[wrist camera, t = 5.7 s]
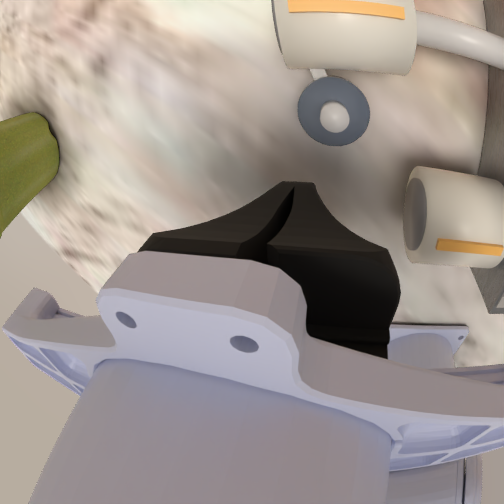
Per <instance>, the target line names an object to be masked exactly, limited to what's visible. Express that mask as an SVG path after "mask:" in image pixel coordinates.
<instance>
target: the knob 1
mask: <svg viewBox="0 0 504 504" xmlns="http://www.w3.org/2000/svg"><path fill="white" fill-rule="evenodd" d="M271 2H272V12H273V20H274V26H275V31H276V36H277V41H278V44H279V48H280V51H281V53H282V55H283V57H284V60H285V63H286V66H287V67H288V69H339V70H355V71H367V72H377V73H386V74H393V75H400V76H405V75H407V74H408V72H409V71H410V69H411V67H412V64H413V61H414V56H415V51H416V45H420V46H425V47H430V48H434V49H438V50H442V51H446V52H450V53H454V54H457V55H461V56H464V57H467V58H471V59H474V60H477V61H480V62H483V63H486V64H488V65H491V66H494V67H496V68H499V69H502V70H504V38H502V37H500V36H498V35H495V34H493V33H490V32H488V31H485V30H483V29H480V28H477V27H474V26H472V25H469V24H466V23H463V22H460V21H456V20H453V19H450V18H446V17H443V16H439V15H435V14H431V13H427V12H423V11H418V10H415V5H414V0H271Z"/></svg>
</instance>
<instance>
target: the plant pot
mask: <svg viewBox="0 0 504 504" xmlns="http://www.w3.org/2000/svg"><path fill="white" fill-rule="evenodd" d="M58 167H59V150H58V145H57V141H56V139H55V138H54V137H53V136H52V134H51V133H50V131H49V127H48V122H47V121H46V120H45V118H43V117H42V116H41V115H39V114H37V113H34V112H31V113H27V114H23V115H20V116H16V117H13V118H10V119H7V120H4V121H1V122H0V238H1V236H2V232H3V231H4V230H5V228H6V227H7V226H8V225H9V224H10V223H11V221H12V220H13V219H14V218H15V217H16V216H17V215H18V214H19V213H20V211H21V210H22V209H23V208H24V207H25V206H26V205H27V204H28V203H29V202H30V201H31V200H32V199H33V198H34V197H35V196H36V195H37V194H38V193H39V192H40V191H41V190H42V189H43V188H44V187H45V186H46V185H47V184H48V183H49V182H50V181H51V180H52V179H53V178H54V176H55V175H56V173H57V170H58Z"/></svg>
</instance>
